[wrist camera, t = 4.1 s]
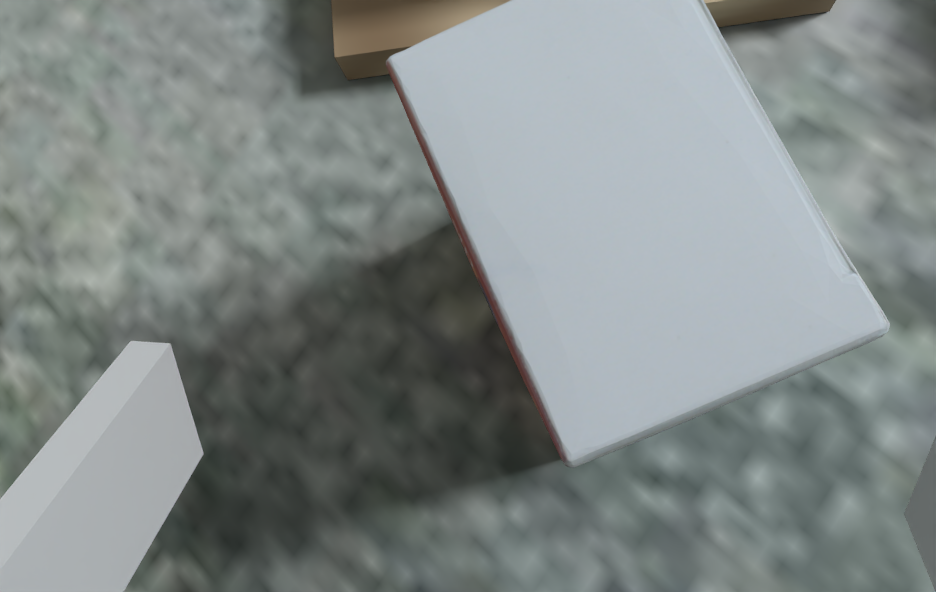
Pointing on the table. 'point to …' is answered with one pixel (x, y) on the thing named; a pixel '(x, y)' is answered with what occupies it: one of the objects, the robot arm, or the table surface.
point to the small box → (628, 213)
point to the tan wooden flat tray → (450, 3)
